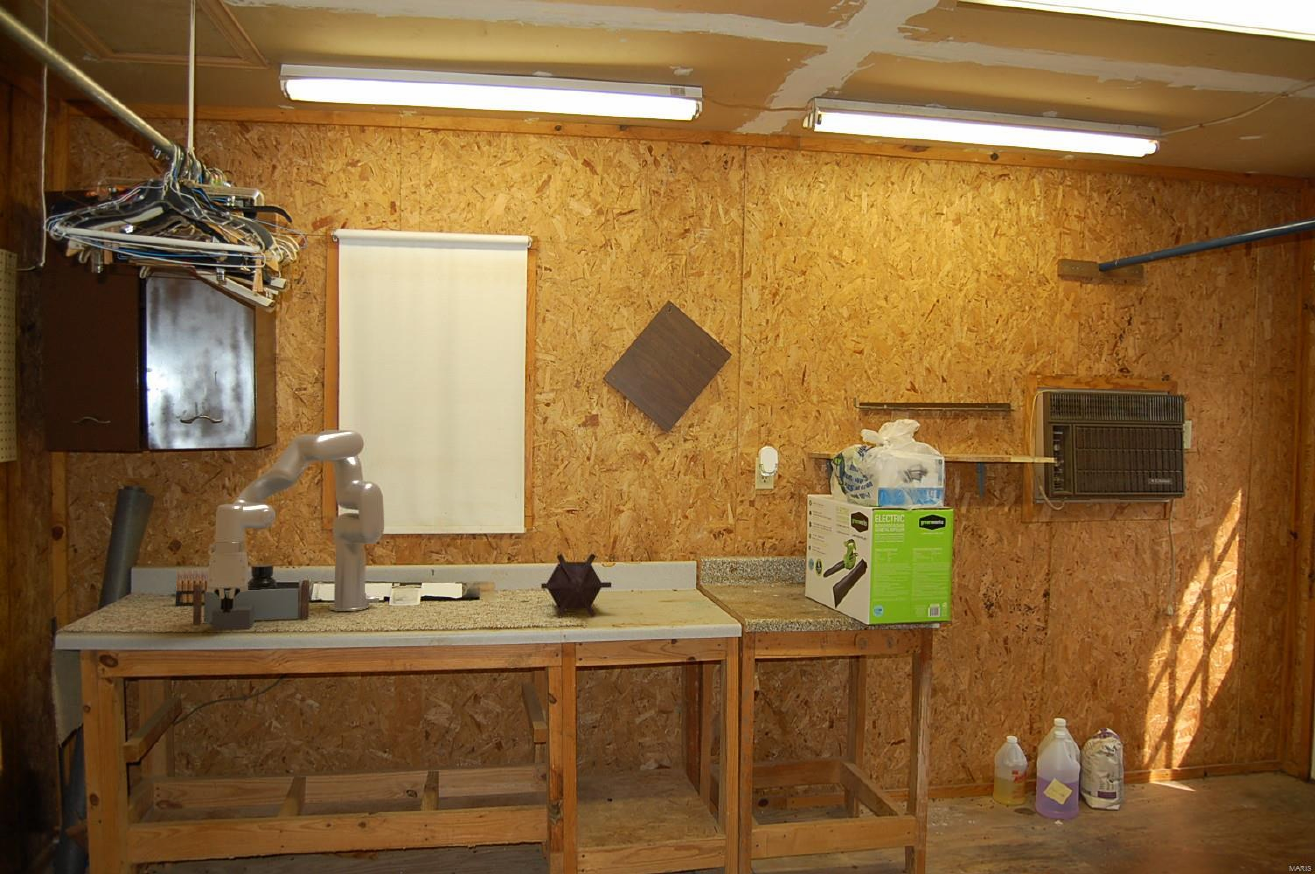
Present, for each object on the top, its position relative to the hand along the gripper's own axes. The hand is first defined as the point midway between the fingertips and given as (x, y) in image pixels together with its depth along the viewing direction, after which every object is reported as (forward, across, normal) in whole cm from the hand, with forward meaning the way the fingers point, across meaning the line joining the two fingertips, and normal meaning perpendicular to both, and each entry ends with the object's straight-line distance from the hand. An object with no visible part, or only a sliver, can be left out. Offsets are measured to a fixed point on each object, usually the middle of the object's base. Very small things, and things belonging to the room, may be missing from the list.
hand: (226, 611), depth 239 cm
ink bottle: (+6, +6, +50) cm, 51 cm away
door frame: (+6, +6, +16) cm, 18 cm away
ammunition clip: (+6, -14, +46) cm, 49 cm away
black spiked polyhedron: (+5, +104, +4) cm, 104 cm away
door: (+6, +5, +16) cm, 18 cm away
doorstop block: (+6, +1, +8) cm, 11 cm away
